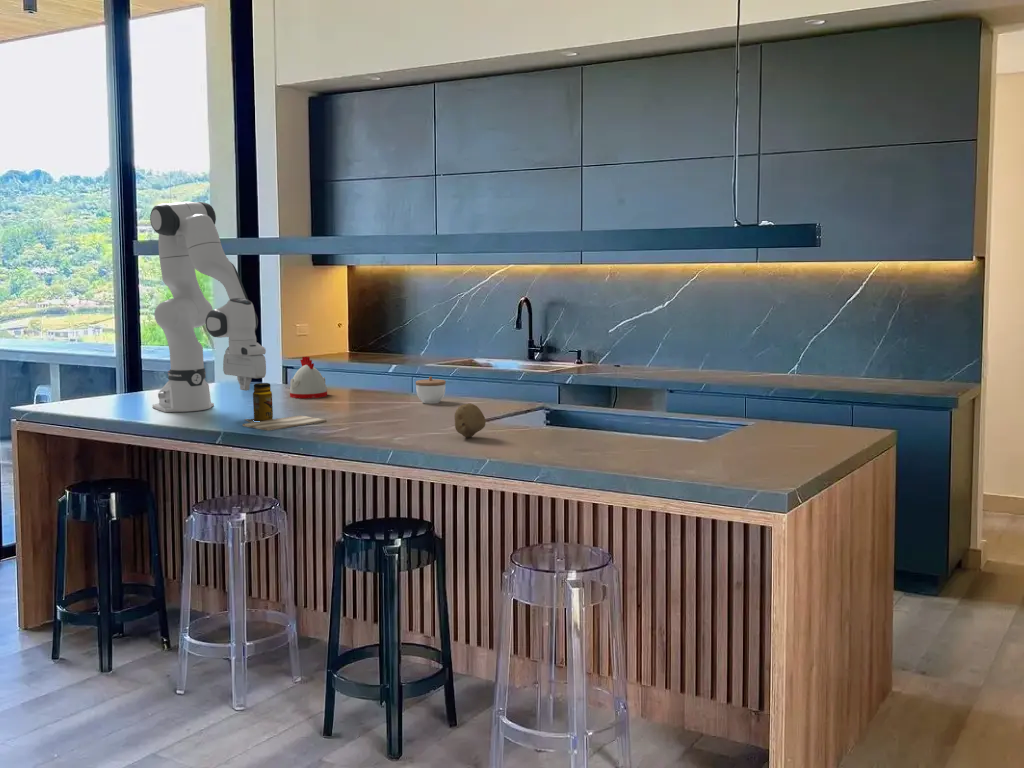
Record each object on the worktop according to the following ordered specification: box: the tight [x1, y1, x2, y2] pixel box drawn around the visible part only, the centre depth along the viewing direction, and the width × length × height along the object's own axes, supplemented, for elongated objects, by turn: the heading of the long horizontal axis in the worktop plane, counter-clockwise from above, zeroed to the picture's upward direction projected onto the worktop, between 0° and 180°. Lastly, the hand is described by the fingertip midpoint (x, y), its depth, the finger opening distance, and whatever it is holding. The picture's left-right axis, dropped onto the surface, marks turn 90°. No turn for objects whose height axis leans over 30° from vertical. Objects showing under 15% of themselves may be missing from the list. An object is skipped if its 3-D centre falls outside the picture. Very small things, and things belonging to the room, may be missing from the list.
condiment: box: [244, 382, 274, 423], centre depth 338 cm, size 7×8×12 cm
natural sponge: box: [454, 403, 487, 439], centre depth 302 cm, size 9×9×10 cm
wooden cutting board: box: [242, 415, 327, 431], centre depth 331 cm, size 14×22×1 cm, turn 137°
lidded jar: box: [415, 376, 447, 405], centre depth 373 cm, size 11×11×9 cm
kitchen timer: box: [289, 356, 328, 399], centre depth 395 cm, size 14×14×15 cm
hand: (244, 390), depth 343 cm, fingers closed
